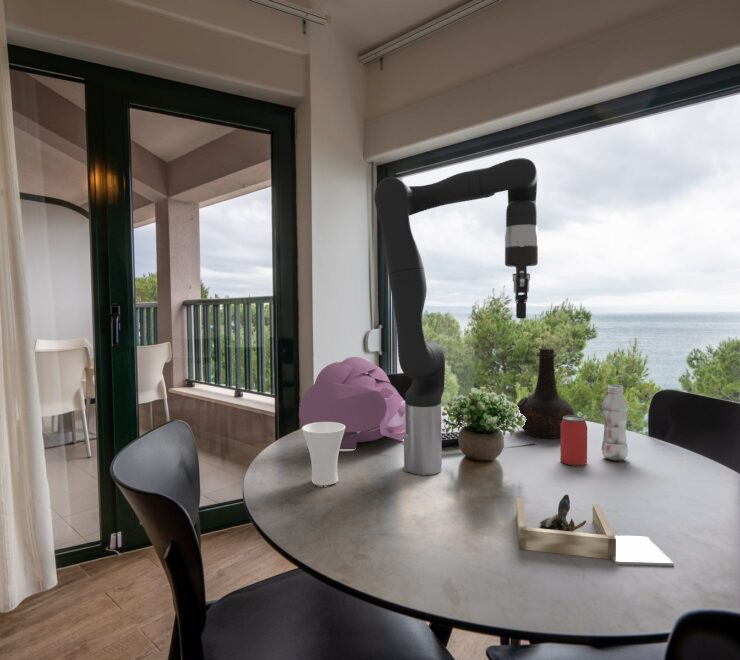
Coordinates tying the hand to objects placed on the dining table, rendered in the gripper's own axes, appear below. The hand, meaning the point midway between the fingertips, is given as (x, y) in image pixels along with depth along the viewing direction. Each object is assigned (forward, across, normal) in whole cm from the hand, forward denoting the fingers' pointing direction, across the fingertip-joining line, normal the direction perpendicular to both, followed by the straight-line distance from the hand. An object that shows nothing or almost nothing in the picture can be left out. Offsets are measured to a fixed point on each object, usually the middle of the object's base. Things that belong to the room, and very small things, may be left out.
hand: (521, 318), depth 118 cm
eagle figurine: (+39, +29, +6) cm, 49 cm away
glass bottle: (+39, -41, +9) cm, 57 cm away
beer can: (+39, -14, +14) cm, 44 cm away
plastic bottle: (+39, -19, +25) cm, 50 cm away
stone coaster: (+39, +33, +17) cm, 54 cm away
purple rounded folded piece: (+39, -21, -46) cm, 64 cm away
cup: (+39, +14, -46) cm, 62 cm away
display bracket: (+39, +29, +6) cm, 49 cm away
